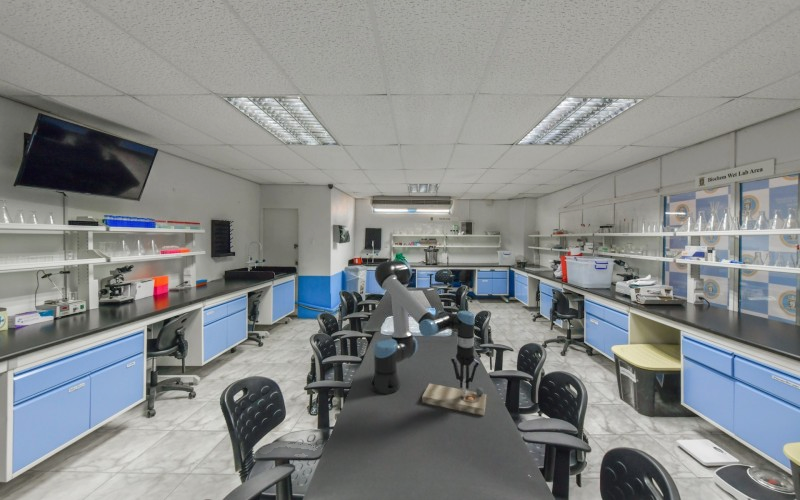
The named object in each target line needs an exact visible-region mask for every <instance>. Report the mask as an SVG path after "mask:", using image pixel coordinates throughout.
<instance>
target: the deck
mask: <svg viewBox="0 0 800 500" xmlns="http://www.w3.org/2000/svg"><path fill="white" fill-rule="evenodd" d="M468 397H472V398H473V399H474V400H473V401H468V400H467V398H468ZM421 399H422V400H421V402H422V403H423V404H428V405H433V406H436V407H437V406H438V407H442V408H446V409H451V410H455V411H460V412H465V413H470V414H474V415H479V416H484V417H485V411H486V404H487V393H483V395H481V396H479V395H477V393H476V391H473V390H468V389H466V396H462V388H461V389H460V388H456V387H452V386H451V387H450V386H447V385H446V386H445V385H440V384H435V383H428V386H427V387H426V389H425V390H424V392H423V394H422V397H421Z"/></svg>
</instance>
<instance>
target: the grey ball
mask: <svg viewBox="0 0 800 500" xmlns="http://www.w3.org/2000/svg"><path fill="white" fill-rule="evenodd" d="M475 392H476V393H477V395H479V396H481V395H483V394H484V389H483V388H482V387H477V388H476V390H475Z"/></svg>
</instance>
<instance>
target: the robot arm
mask: <svg viewBox="0 0 800 500" xmlns="http://www.w3.org/2000/svg"><path fill="white" fill-rule="evenodd" d="M412 275H413V270H412V267H411V264H410V263H408V262H407V261H406V260H401V259H399V260H398V259H397V260H396V259H395V260H391V261H390V260H386V261H383V262H380V263H379V264H378V265H377V266H376V268H375V270H374V277H375V281H376V283H377V285H379V287H380V288H381V289H382V290H384V291H386V292H388V293H389V295H390V297H391V307H392V309H391V310H392V322H393V332H392V334H391V338H386V339H385V338H383V339H380V340H378V341H377V342H376V343H375V344H374V351H373V357H374V360H373V361H374V362H373V363H374V364H373V365H374V368H373V369H374V372H373V375H372V378H371V381H370V389H371V391H373V392H374V393H377V394H381V395H389V394H393V393H396V392H398V391H399V390H400V388H401V381H400V380H401V379H400V378H399V375H398V371H397V370H398V369H397V368H398V364H399V363H400V362H403V361H405V360H406V359H410V358H411V357H413V356H414V355H415V354H416V353H417V351H418V347H419V345H418V344H419V343H418V340H417V339H416V337H415V336H414V335H413V332H412V331H410V330H411V329H410V320H409V316H410V317H411V318H413V320H414V321H415V322H416V323H417V324H418V330H419V332H420V334H421V335H422V336H423V337H426V338H430V337H434V336H436V334H439V333H441V332H444V331H446V330H452V331H457V336H456V337H457V338H456V340H457V341H456V343H457V344H456V355H455V356H453V357H451V359H450V361H451V363H452V364H453V370H454V374H455V379H456V380H459V383H460V384H459V386H460V388H461V389H462V396H466V390H468V389H469V388H470V383H472V382H473V380H474V378H475V373H476V370H477V367H479V366H480V361H479V360H476V358H475V355H474V350H475V349H474V345H475V336H474V335H475V323H476V322H475V314H474V313H473V312H472V311H469V310H460V311H458V312H457V313H452V312H447V311H445V310H444V311H443V310H439V311H436V313H435V314H434V315H433V313H431V311H429V310H428V308H426V306H424V305H423V304H422V303H421V302H420V301H419V299H417V298H416V297H415V295H414V294H412V293H411V292H410V291H409V290H408V289H407V287H408V285H410V283H409V280H410V279H411V277H412ZM458 363H459V365H460V366H459V367H460V370H459V367H458ZM472 363H473V368H472V372H471V375H470V365H472ZM459 371H460V372H459ZM464 371H465V372H464ZM464 374H465V375H464ZM464 376H465V377H464ZM464 378H465V379H464Z"/></svg>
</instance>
